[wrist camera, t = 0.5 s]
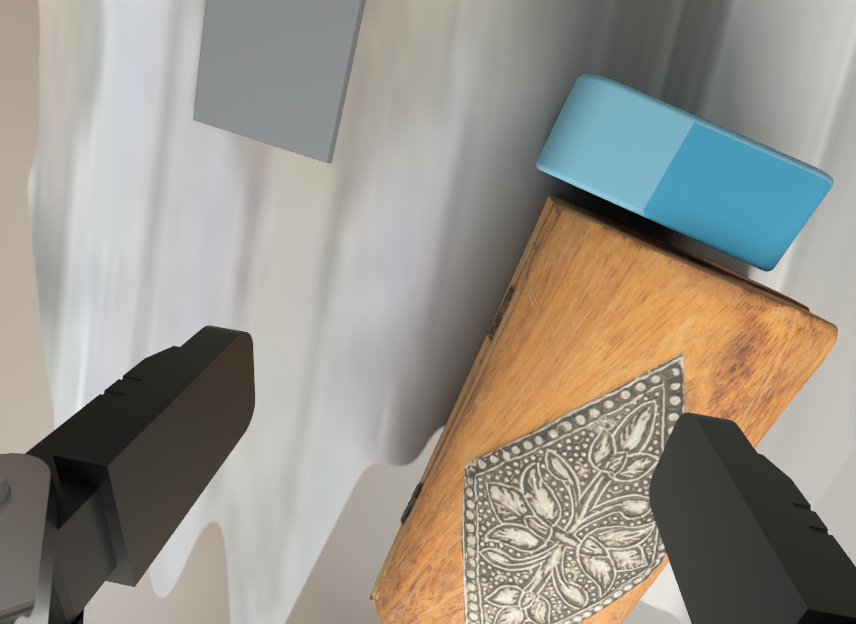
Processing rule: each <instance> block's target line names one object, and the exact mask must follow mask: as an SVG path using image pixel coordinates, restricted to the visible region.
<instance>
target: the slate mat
mask: <svg viewBox="0 0 856 624" xmlns="http://www.w3.org/2000/svg"><path fill="white" fill-rule="evenodd" d="M364 5H365V0H206V8H205V17H204V26H203V35H202V44H201V53H200V62H199V71H198V80H197V89H196V98H195V107H194V116H193V120H195V121H198V122H201V123H204V124H207V125H211V126H214V127H217V128H220V129H223V130H226V131H229V132H232V133H235V134H238V135H242V136H245V137H248V138H251V139H254V140H257V141H260V142H263V143H266V144H269V145H273V146H276V147H279V148H282V149H285V150H288V151H291V152H294V153H297V154H301V155H304V156H307V157H310V158H313V159H316V160H319V161H322V162H325V163H331V162H332V157H333V153H334V148H335V143H336V138H337V134H338V129H339V124H340V119H341V115H342V110H343V105H344V100H345V95H346V91H347V86H348V81H349V76H350V72H351V67H352V62H353V57H354V52H355V48H356V43H357V38H358V33H359V29H360V24H361V19H362V14H363V10H364Z"/></svg>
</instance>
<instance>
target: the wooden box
mask: <svg viewBox="0 0 856 624" xmlns="http://www.w3.org/2000/svg"><path fill="white" fill-rule="evenodd" d="M837 333H838V329H837V327H836V326H835V325H834V324H832V323H830V322H828V321H826V320H824V319H822V318H820V317H819V316H816V315H814V314H812V313H810V311H809V308H808V307H806V306H805V305H803V304H801V303H799V302H797V301H795V300H793V299H791V298H789V297H787V296H785V295H783V294H781V293H779V292H777V291H775V290H773V289H771V288H769V287H766V286H764V285H762V284H760V283H758V282H755V281H753V280H751V279H749V278H747V277H745V276H742V275H740V274H738V273H736V272H734V271H732V270H729V269H727V268H725V267H723V266H721V265H719V264H716V263H714V262H712V261H709V260H707V259H705V258H703V257H700V256H698V255H695V254H693V253H690V252H688V251H686V250H684V249H683V248H679V247H677V246H674V245H672V244H669V243H667V242H664V241H662V240H659V239H657V238H654V237H652V236H650V235H648V234H645V233H643V232H642V231H640V230H636V229H634V228H631V227H629V226H627V225H624V224H621V223H619V222H617V221H614V220H612V219H610V218H607V217H605V216H602V215H600V214H597V213H594V212H592V211H589V210H586V209H584V208H581V207H580V206H577V205H575V204H574V203H571V202H569V201H567V200H564V199H562V198H558V197H555V196H552V195H550V196H549V197H548V199H547V201H546V203H545V205H544V208H543V210H542V212H541V214H540V217H539V219H538V221H537V223H536V226H535V228H534V230H533V232H532V235H531V237H530V239H529V241H528V243H527V245H526V248H525V250H524V252H523V254H522V257H521V259H520V261H519V264H518V266H517V268H516V270H515V272H514V274H513V277H512V279H511V282H510V284H509V286H508V288H507V291H506V293H505V295H504V297H503V300H502V302H501V304H500V307H499V309H498V311H497V313H496V316H495V318H494V320H493V322H492V324H491V326H490V329H489V331H488V333H487V335H486V338H485V340H484V342H483V344H482V346H481V349H480V351H479V353H478V355H477V357H476V359H475V361H474V364H473V366H472V368H471V370H470V373H469V375H468V377H467V379H466V381H465V383H464V386H463V388H462V390H461V392H460V395H459V397H458V399H457V401H456V404H455V406H454V408H453V410H452V412H451V414H450V417H449V419H448V421H447V423H446V425H445V428H444V430H443V432H442V434H441V437H440V439H439V441H438V443H437V445H436V447H435V449H434V451H433V454H432V456H431V458H430V461H429V463H428V465H427V467H426V469H425V472H424V474H423V476H422V478H421V480H420V483H419V484H418V485H417V487H416V489H415V491H414V492H413V495H412V498H411V500H410V502H409V503H408V506H407V507H406V509H405V511H404V513H403V516H402V518H401V523H402V524H401V526H400V528H399V531H398V533H397V536H396V538H395V540H394V543H393V545H392V547H391V549H390V552H389V554H388V556H387V558H386V560H385V562H384V564H383V567H382V569H381V571H380V573H379V575H378V577H377V580H376V582H375V585H374V588H373V591H372V594H371V596H370V600H371V601H372V602H373V604H374V605H375V606H376V609H377V613H378V616H379V618H380V620H381V622H382V624H621V623H622V622H623V620H624V619H625V618H626V616H627V615H628V614H629V613H630V611H631V610H632V609H633V607H634V606H635V605H636V603H637V602H638V601H639V600H640V598H641V597H642V596H643V595H644V593H645V592H646V591H647V590H648V588H649V587H650V586H651V584H652V583H653V582H654V580H655V579H656V578H657V577H658V575H659V574H660V573H661V571H662V570H663V569H664V567H665V566H666V565H667V563H668V562H669V559H668V556H667V553H666V550H665V547H664V545H663V542H662V539H661V536H660V533H659V531H658V528H657V525H656V522H655V519H654V517H653V514H652V511H651V507H650V500H649V488H650V482H651V478H652V475H653V472H654V470H655V468H656V466H657V463H658V461H659V459H660V457H661V454H662V452H663V450H664V448H665V446H666V443H667V441H668V439H669V437H670V434H671V432H672V430H673V428H674V426H675V423H676V421H677V420H678V418H679V417H680V416H681V415H682V414H683V413H686V412H690V413H695V414H701V415H707V416H712V417H718V418H723V419H729V420H732V421H734V422H735V423H736V424H737V425H738V426H739V427H740V429H741V430H742V432H743V433H744V435H745V436H746V437H747V439H748V440H749V442H750V443H751V445H752V446H753V448H755V447H756V446H757V444H758V443H759V442H760V440H761V439H762V438H763V437H764V435H765V434H766V433H767V431H768V430H769V429H770V427H771V426H772V425H773V424H774V422H775V421H776V419H777V418H778V417H779V415H780V414H781V413H782V411H783V410H784V409H785V407H786V406H787V405H788V404H789V402H790V401H791V400H792V399H793V397H794V396H795V395H796V394H797V392H798V391H799V390H800V389H801V388H802V386H803V385H804V384H805V383H806V381H807V380H808V379H809V378H810V376H811V375H812V374H813V373H814V371H815V370H816V369H817V368H818V366H819V365H820V364H821V363H822V361H823V360H824V359H825V357H826V356H827V355H828V353H829V352H830V350H831V349H832V347H833V346H834V344H835V342H836V339H837Z"/></svg>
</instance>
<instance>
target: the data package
mask: <svg viewBox="0 0 856 624" xmlns="http://www.w3.org/2000/svg"><path fill="white" fill-rule="evenodd" d="M536 167H537V168H538V169H539V170H541V171H544V172H546V173H548V174H550V175H552V176H555V177H557V178H559V179H561V180H563V181H566V182H568V183H570V184H572V185H574V186H577V187H579V188H581V189H583V190H586V191H588V192H590V193H592V194H594V195H597V196H599V197H601V198H603V199H606V200H608V201H610V202H612V203H614V204H617V205H619V206H621V207H623V208H626V209H628V210H630V211H632V212H634V213H637V214H639V215H641V216H643V217H645V218H648V219H650V220H652V221H654V222H657V223H659V224H661V225H663V226H665V227H668V228H670V229H672V230H674V231H677V232H679V233H681V234H683V235H685V236H688V237H690V238H692V239H694V240H697V241H699V242H701V243H703V244H705V245H708V246H710V247H712V248H714V249H717V250H719V251H721V252H723V253H725V254H728V255H730V256H732V257H734V258H737V259H739V260H741V261H743V262H745V263H748V264H750V265H752V266H754V267H757V268H759V269H761V270H763V271H771V270H772V269H774V267H775V266H776V264H777V263H778V262H779V260H780V259H781V257H782V256H783V255H784V253H785V252H786V250H787V249H788V248H789V246H790V245H791V243H792V242H793V240H794V239H795V238H796V236H797V235H798V233H799V232H800V231H801V229H802V228H803V226H804V225H805V224H806V222H807V221H808V219H809V218H810V217H811V215H812V214H813V212H814V211H815V210H816V208H817V207H818V205H819V204H820V203H821V201H822V200H823V198H824V197H825V196H826V194H827V193H828V191H829V190H830V188H831V187H832V186H833V179H832V178H831V177H830V176H829V175H828V174H827V173H825V172H823V171H822V170H820V169H818V168H816V167H813V166H811V165H809V164H806V163H804V162H802V161H800V160H797V159H795V158H793V157H790V156H788V155H786V154H783V153H781V152H779V151H776V150H774V149H772V148H770V147H767V146H765V145H763V144H760V143H758V142H756V141H753V140H751V139H749V138H746V137H744V136H742V135H739V134H737V133H735V132H733V131H730V130H728V129H726V128H723V127H721V126H719V125H716V124H714V123H712V122H709V121H707V120H705V119H703V118H700V117H698V116H696V115H693V114H691V113H689V112H686V111H684V110H682V109H679V108H677V107H675V106H672V105H670V104H668V103H666V102H663V101H661V100H659V99H656V98H654V97H652V96H649V95H647V94H645V93H642V92H640V91H638V90H636V89H633V88H631V87H629V86H626V85H624V84H622V83H619V82H617V81H614V80H612V79H609V78H606V77H603V76H599V75H595V74H583V75H580V76H579V77H578V79H577V80H576V82H575V84H574V86H573V88H572V90H571V92H570V94H569V96H568V98H567V100H566V102H565V104H564V106H563V108H562V110H561V112H560V114H559V116H558V118H557V120H556V122H555V125H554V127H553V129H552V131H551V133H550V135H549V137H548V139H547V141H546V143H545V145H544V147H543V150H542V152H541V154H540V156H539V158H538V160H537V162H536Z"/></svg>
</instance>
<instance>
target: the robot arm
mask: <svg viewBox="0 0 856 624" xmlns="http://www.w3.org/2000/svg"><path fill="white" fill-rule="evenodd" d="M254 406H255V383H254V358H253V341H252V338H251V335H250V334H249V333H248V332H243V331H237V330H232V329H226V328H221V327H215V326H205V327H204V328H202V329H201V330H200V331H199V332H197V333H196V334H195V335H194V336H193V337H192V338H190V339H189V340H188V341H187V342H186V343H184V344H183V345H182V346H181V347H176V346H173V347H171V348H168V349H166V350H164V351H161V352H159V353H157V354H154V355H152V356H150V357H147V358H145V359H144V360H142V361H141V362H140V363H139V364H137V365H136V366H135V367H134V368H132V369H131V370H130V371H129V372H127V373H126V374H125V375H124V376H123V379H122V380H120V379H119V380H117V381H116V382H115V383H114V384H112V385H111V386H110V387H108V388H107V389H106V390H105V393H104V394H103V395H98V396H97V397H96V398H95V399H93V400H92V401H91V402H90V403H88V404H87V405H86V406H85V407H83V408H82V409H81V410H80V411H78V412H77V413H76V414H74V415H73V416H72V417H71V418H69V419H68V420H67V421H66V422H64V423H63V424H62V425H61V426H59V427H58V428H57V429H56V430H54V431H53V432H52V433H51V434H49V435H48V436H47V437H46V438H44V439H43V440H42V441H41V442H39V443H38V444H37V445H35V446H34V447H33V448H32V449H30V450H29V451H28V452H27V453H26V454H18V453H17V454H16V453H9V454H0V624H91V606H90V603H89V601H90V600H91V598H92V597H93V596H94V594H95V593H96V592H97V590H98V589H99V588H100V587H101V586H102V584H103V583H104V582H105V581H109V582H114V583H119V584H123V585H128V586H132V587H135V586H136V584H137V583H138V582H139V580H140V579H141V577H142V576H143V575H144V573H145V571H146V570H147V569H148V568H149V566H150V565H151V563H152V562H153V561H154V559H155V558H156V556H157V555H158V554H159V552H160V551H161V549H162V548H163V547H164V545H165V544H166V542H167V541H168V540H169V538H170V537H171V535H172V534H173V533H174V531H175V530H176V528H177V527H178V526H179V524H180V523H181V521H182V520H183V519H184V517H185V516H186V514H187V513H188V512H189V510H190V509H191V507H192V506H193V505H194V503H195V502H196V500H197V499H198V497H199V496H200V495H201V493H202V492H203V490H204V489H205V488H206V486H207V485H208V483H209V482H210V481H211V479H212V478H213V476H214V475H215V474H216V472H217V471H218V469H219V468H220V467H221V465H222V464H223V462H224V461H225V460H226V458H227V457H228V455H229V454H230V453H231V451H232V450H233V448H234V447H235V446H236V444H237V443H238V441H239V440H240V439H241V437H242V436H243V434H244V433H245V431H246V430H247V428H248V426H249V424H250V421H251V419H252V415H253V411H254ZM649 500H650V507H651V511H652V514H653V517H654V519H655V522H656V525H657V528H658V531H659V533H660V536H661V539H662V542H663V545H664V547H665V550H666V553H667V556H668V559H669V561H670V564H671V567H672V570H673V572H674V575H675V578H676V581H677V584H678V586H679V589H680V592H681V595H682V598H683V600H684V603H685V606H686V609H687V612H688V614H689V617H690V620H691V623H692V624H856V567H855V565H854V564H853V563H852V561H851V560H850V558H849V557H848V556H847V554H846V553H845V552H844V550H843V549H842V548H841V546H840V545H839V544H838V542H837V541H836V539H834V537H833V536H832V535H828V532H827V531H828V529H827V527H826V526H825V525H824V523H823V522H822V521H821V519H820V518H819V516H818V515H817V514H816V512H814V511H811V509H810V508H811V505H810V504H809V503H808V501H807V500H806V499H805V497H804V496H803V495H802V493H801V492H800V491H799V489H798V488H797V486H796V485H795V484H794V482H793V481H792V480H791V479H790V478H789V477H788V476H787V475H786V474H784V473H783V472H782V471H781V470H780V469H779V468H777V467H776V466H775V465H774V464H773V463H772V462H770V461H769V460H768V459H767V458H766V457H765V456H763V455H762V454H758V453H757V452H756V450H755V449H754V448H753V446H752V445H751V443H750V442H749V440H748V439H747V437H746V436H745V435H744V433H743V432H742V430H741V429H740V427H739V426H738V425H737V424H736V423H735V422H734V421H732V420H729V419H723V418H718V417H712V416H707V415H701V414H695V413H690V412H686V413H683V414H682V415H681V416H680V417H679V418H678V420H677V421H676V423H675V426H674V428H673V430H672V432H671V434H670V437H669V439H668V441H667V443H666V446H665V448H664V450H663V452H662V454H661V457H660V459H659V461H658V463H657V466H656V468H655V470H654V472H653V475H652V478H651V482H650V488H649Z"/></svg>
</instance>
